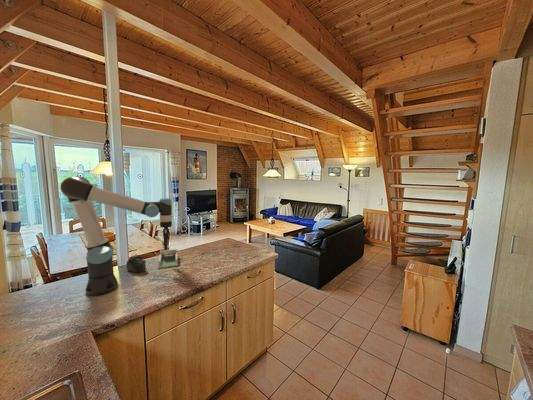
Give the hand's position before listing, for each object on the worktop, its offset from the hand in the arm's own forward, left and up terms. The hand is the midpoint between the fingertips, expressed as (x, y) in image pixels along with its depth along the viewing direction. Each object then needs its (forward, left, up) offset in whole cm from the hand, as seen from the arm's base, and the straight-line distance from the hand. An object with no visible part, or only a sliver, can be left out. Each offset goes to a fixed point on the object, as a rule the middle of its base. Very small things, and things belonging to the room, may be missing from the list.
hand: (166, 251), depth 162 cm
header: (+1, +10, -12) cm, 16 cm away
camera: (-19, +3, -12) cm, 23 cm away
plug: (+1, +15, -11) cm, 18 cm away
